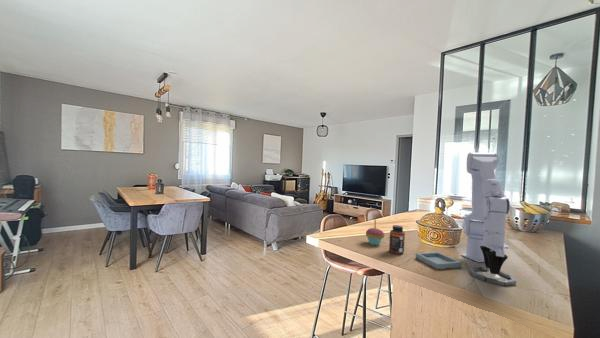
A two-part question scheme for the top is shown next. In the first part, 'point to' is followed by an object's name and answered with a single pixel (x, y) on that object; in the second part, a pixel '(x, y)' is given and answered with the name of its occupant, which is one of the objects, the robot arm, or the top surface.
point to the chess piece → (490, 275)
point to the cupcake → (374, 235)
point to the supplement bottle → (397, 240)
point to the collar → (490, 280)
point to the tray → (438, 260)
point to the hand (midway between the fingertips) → (491, 270)
